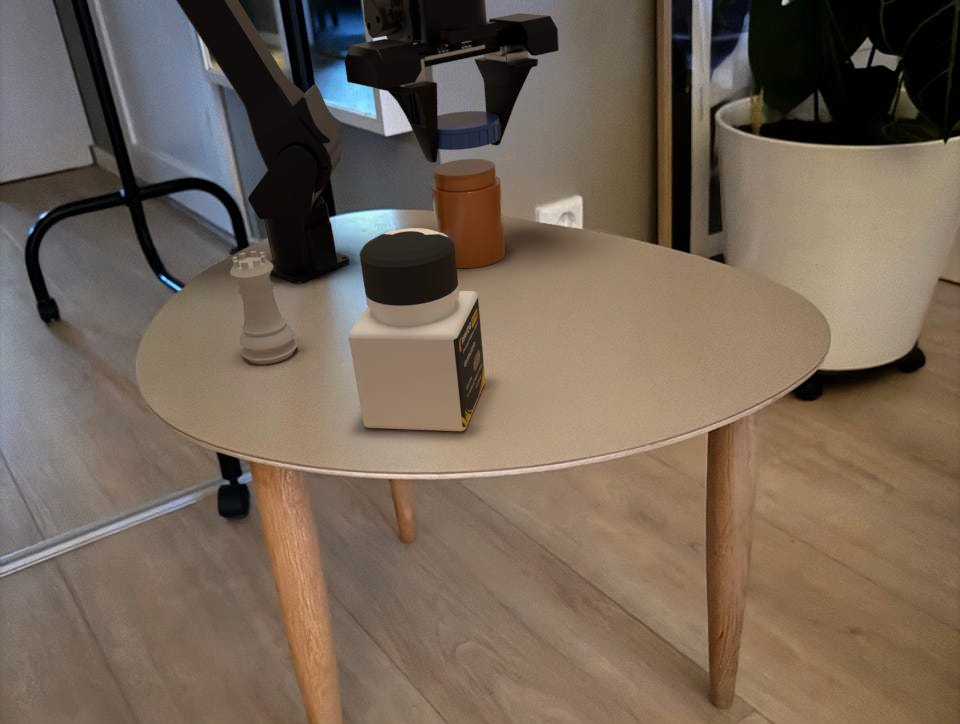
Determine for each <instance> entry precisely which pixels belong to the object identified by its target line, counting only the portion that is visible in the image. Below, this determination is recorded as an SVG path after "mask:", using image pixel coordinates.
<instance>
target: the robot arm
mask: <svg viewBox="0 0 960 724" xmlns="http://www.w3.org/2000/svg"><path fill="white" fill-rule="evenodd" d="M175 1H176V2H177V4H178V6H179V7H180V9H181V10H182V12H183V14H184V15H185V17H186V18H187V19H188V21H189V23H190V24H191V26H192V27H193V28H194V30H195V32H196V33H197V34H198V36H199V38H200V39H201V41H202V42H203V44H204V46H205V47H206V49H207V50H208V51H209V53H210V55H211V56H212V58H213V59H214V61H215V62H216V64H217V66H219V68H220V71H222V73H223V74H224V76H225V78H226V79H227V81H228V83H229V84H230V86H231V87H232V88H233V90H234V91H235V93H236V94H237V97H238V98H239V99H240V101H241V102H242V104H243V106H244V109H245V112H246V116H247V118H248V121H249V126H250V129H251V133H252V136H253V139H254V143H255V145H256V148H257V150H258V152H259V154H260V157H261V158H262V161H263V163H264V165H265V167H266V169H267V171H266V172H265V174H264V175H263V176H262V178H261V179H260V181H259V182H258V183H257V185H256V186H255V187H254V189H252V191H251V193H250V194H249V195H248V199H247V200H248V203H249V204H250V206H251V208H252V209H253V211H254V213H255V214H256V216H257V218H258V219H260V220H263V224H264V228H265V232H266V236H267V242H268V246H269V251H270V256H271V259H269V260H268V261H269V262H271V263H272V264H273V269H272V271H271V273H270V275H274V276H275V277H276V276H277V277H280V278H282V279H285V280H288V281H291V282H294V283H301V282H304V281H307V280H309V279H312V278H314V277H317V276H319V275H322V274H324V273H328V272H329V271H332V270H334V269H337V268H339V267H342V266H344V265H346V264H349V263H350V262H351V260H350V259H351V258H350V257H349V256H348V255H345V254H341V253H338V252H337V249H336V242H335V236H334V231H333V225H332V222H331V221H330V219H331V218H330V214H329V208H328V203H326V202H325V200H324V197H322V196H321V193H322V192H323V191H324V190H325V187H326V186H327V184H328V183H329V181H330V179H331V177H332V175H333V174H334V172H335V169H336V168H337V166H338V165H339V163H340V161H341V158H342V153H343V140H342V137H341V135H340V133H339V131H338V130H339V129H340V127H341V125H342V122H341V121H340V120H339V119H338V118H336V117H335V116H334V115H333V113H331V111H330V110H329V109H328V106H327V104H326V101H325V100H324V97H323V94H322V92H321V90H320V89H319V87H318V85H317V84H313V85H312V86H311V87H310V88H309V89H308V90H307V91H306V92H304V91H303V90H301V89H300V88H299V87H298V86H297V85H296V84H295V83H293V82H292V81H291V80H290V79H289V78H288V77H287V75H285V74H284V71H283V70H282V68H281V67H280V66H279V64H278V62H277V61H276V59H275V57H274V56H273V54H272V53H271V51H270V50H269V47H268V46H267V44H266V43H265V40H264V39H263V38H262V36H261V35H260V33H259V31H258V29H257V28H256V27H255V25H254V23H253V22H252V20H251V19H250V16H249V15H248V13H247V12H246V10H245V9H244V7H243V6H242V4H241V2H240V1H239V0H175ZM362 3H363V5H362V6H363V16H364V23H365V26H366V29H367V33H368V35H369V37H371V38H372V39H377V38H381V39H377V40H371V41H366V42H361V43H357V44H356V43H355V44H350V45H349V47H348V50H347V53H346V55H345V58H344V61H343V62H344V68H345V75H346V81H347V83H350V84H354V85H359V86H363V87H369V88H373V89H376V90H381V91H386V92H388V93H389V94H390V95H391V96H392V98H393V99H394V100H395V101H396V102H397V104H398V105H399V107H400V109H401V110H402V113H403V114H404V115H405V117H406V119H407V121H408V123H409V126H410V127H411V130H412V132H413V134H414V137H415V138H416V140H417V142H418V144H419V147H420V149H421V152H422V154H423V155H424V158H425V160H426V161H427V162H429V163H432V164H433V163H436V162H437V161H438V153H439V152H438V151H439V149H438V116H439V113H438V83H437V82H436V81H431V80H427V74H426V68H428V67H432V66H437V65H442V64H446V63H451V62H455V61H456V62H457V61H460V60H465V59H470V58H474V57H475V58H474V63H475V65H476V67H477V69H478V71H479V73H480V75H481V77H482V80H483V89H484V91H483V92H484V103H485V112H491V113H494V114H497V115H498V116H499V123H500V125H501V136H500V138H499V140H497V141H496V142H494V143H491V144H490V145H492V146H500V145H501V143H502V140H503V138H504V134H505V131H506V130H507V126H508V124H509V121H510V118H511V116H512V113H513V110H514V107H515V105H516V102H517V100H518V97H519V95H520V93H521V91H522V89H523V87H524V85H525V83H526V80H527V78H528V76H529V74H530V72H531V70H532V69H533V68H535V67H538V65H539V59H538V58H534V56H535V57H537V56H541V55H546V54H549V53H551V54H552V53H555V52H558V51H559V50H560V45H559V29H558V27H557V25H556V23H555V22H554V20H553V18H552V17H551V15H547V14H546V15H545V14H544V15H543V14H532V13H520V12H518V13H514V14H508V15H504V16H503V15H502V16H498V17H497V16H496V17H493V18H489V20H488V19H487V7H486V6H487V5H486V0H362ZM384 37H386V38H384ZM529 55H530V56H533V57H529ZM480 56H481V57H480ZM476 57H478V58H476Z"/></svg>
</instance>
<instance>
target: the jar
mask: <svg viewBox="0 0 960 724" xmlns="http://www.w3.org/2000/svg"><path fill="white" fill-rule="evenodd" d="M432 176H433V179H434V181H433V182H432V184H431V187H430V189H431V197H432V205H433V207H432V208H433V216H434V224H435V231H437V232H440V233H443V234H445V235H447V236H448V237H449V238H450V239H451V240H452V241H453V242H454V245H455V255H456V265H457V269H475V268H483V267H486V266H490V265H493V264H496V263H498V262H500V261H501V260H502V259H503V258H504V257H505V255H506V244H505V228H504V214H503V213H504V212H503V197H502V184H501V183H502V182H501V178H500V177H499V176H497V172H496V164H495V162H494V161H491V160H487V159H482V158H463V159H456V160H449V161H447V162H443V163H440V164H439V165H437V166H435V168H434V169H433V175H432Z"/></svg>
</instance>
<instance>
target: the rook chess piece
mask: <svg viewBox="0 0 960 724" xmlns="http://www.w3.org/2000/svg"><path fill="white" fill-rule="evenodd" d="M231 260H232V264H233V265H232V267H231V268H230V271H229V274H230V275H231V277H233V279H234V280H236V281H237V282H238V284H239V286H238V288H237V293H238V294H239V295H240V296H241V300H242V307H243V316H244V321H243V326H241V329H242V333H241V334H240V336H239V345H240V346H241V347H243V348H242V349H241V356H242V357H243V358H244V359H246V360H247V361H248V362H250V363H252V364H257V365H271V364H276V363H280V362H282V361H284V360H286V359H288V358H290V357H291V356H293V354H294V352H295V351H296V348H297V347H298V342H297V340H296V339H294V336H295V331H294V329H293V327H292V326H291V325H289V324H288V323H287V320H286V318H285V317H283V316H282V313H281V312H280V310H279V307H278V304H277V302H276V299H275V295H274V289H275V283H274V282H273V281H271V279H270V275H271V271H272V269H273V264H272V263H271V262H269V261H270V260H268V259H267V255H266V253H265V252H264V251H260V252H258V251H257V250H251V251H250V257H247V253H246V252H241V253H238V256H233V257H231Z"/></svg>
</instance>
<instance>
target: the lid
mask: <svg viewBox="0 0 960 724" xmlns="http://www.w3.org/2000/svg"><path fill="white" fill-rule="evenodd" d="M500 136H501V125H500V123H499V116H498V115H497V114H494V113H491V112H486V111H484V110H483V111H479V110H468V111H467V110H466V111H455V112H448V113H443V114H438V150H441V151H446V150H447V151H458V150H468V149H477V148H480V147H485V146H488V145H491V143H494V142H496V141H497V140H499V138H500Z"/></svg>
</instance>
